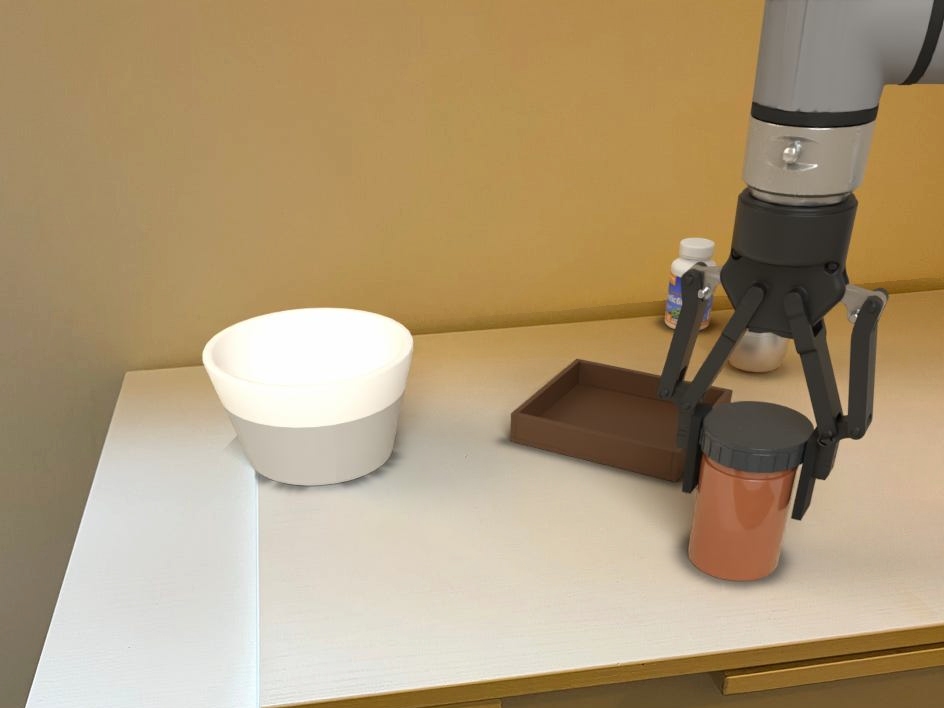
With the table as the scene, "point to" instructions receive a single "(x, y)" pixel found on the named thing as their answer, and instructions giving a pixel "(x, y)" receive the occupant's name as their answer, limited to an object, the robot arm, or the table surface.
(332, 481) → the bowl
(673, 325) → the pill bottle
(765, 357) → the silver bottle
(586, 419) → the tray
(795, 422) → the jar lid
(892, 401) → the table surface
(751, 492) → the jam jar
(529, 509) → the table surface
